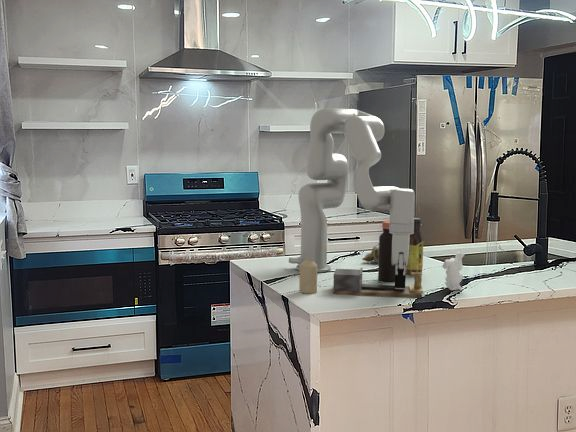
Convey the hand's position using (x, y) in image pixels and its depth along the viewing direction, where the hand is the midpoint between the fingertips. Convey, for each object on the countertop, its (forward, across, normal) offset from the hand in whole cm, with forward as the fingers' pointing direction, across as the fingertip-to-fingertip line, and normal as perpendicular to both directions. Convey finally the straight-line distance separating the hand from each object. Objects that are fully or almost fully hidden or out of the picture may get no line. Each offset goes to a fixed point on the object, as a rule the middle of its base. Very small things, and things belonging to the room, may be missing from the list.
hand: (399, 285), depth 211 cm
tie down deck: (+2, 0, -6) cm, 7 cm away
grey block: (+1, 0, -5) cm, 5 cm away
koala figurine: (+2, -8, +18) cm, 19 cm away
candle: (+2, +4, -28) cm, 29 cm away
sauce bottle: (+2, -31, +6) cm, 32 cm away
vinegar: (+2, -18, -4) cm, 19 cm away
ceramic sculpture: (+3, -50, -6) cm, 50 cm away
